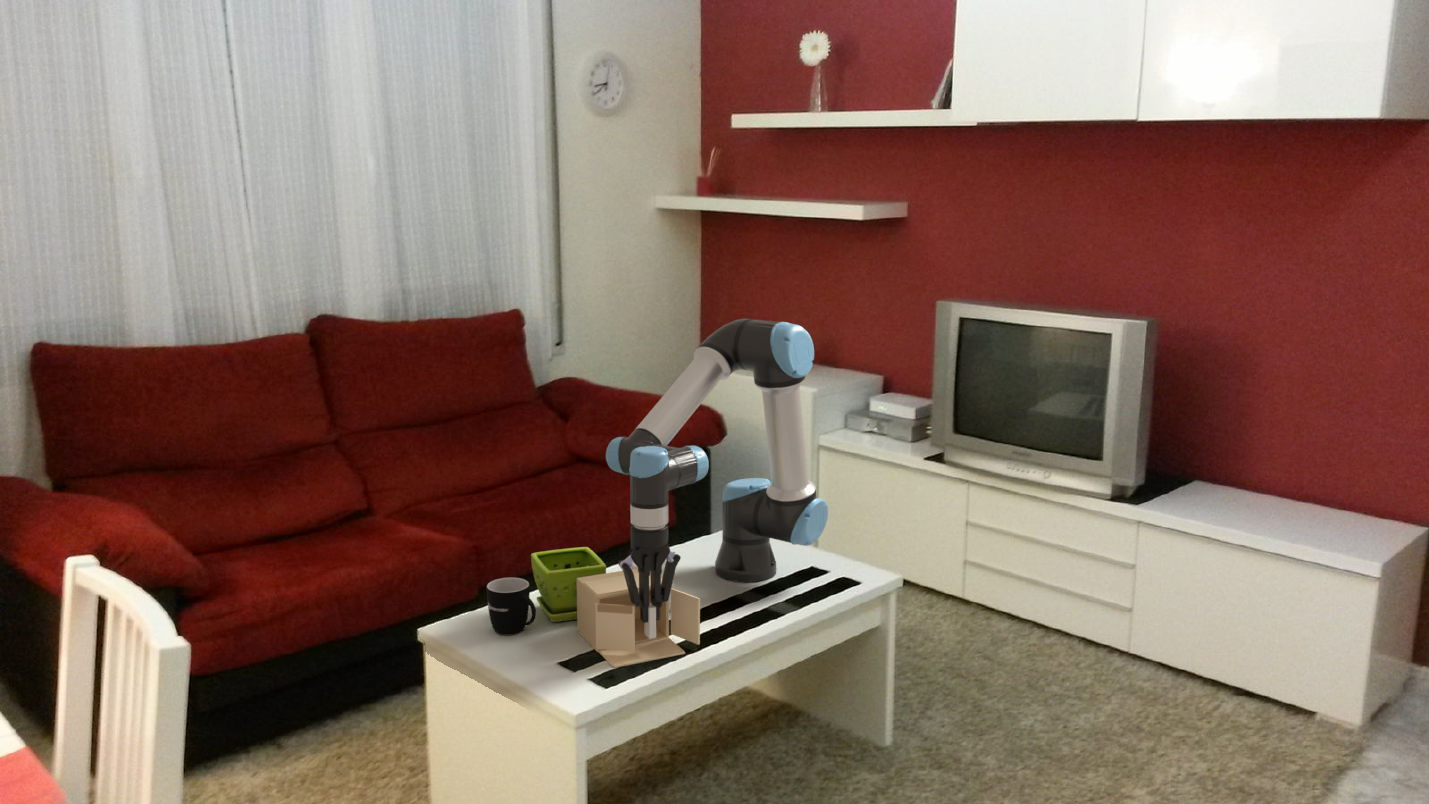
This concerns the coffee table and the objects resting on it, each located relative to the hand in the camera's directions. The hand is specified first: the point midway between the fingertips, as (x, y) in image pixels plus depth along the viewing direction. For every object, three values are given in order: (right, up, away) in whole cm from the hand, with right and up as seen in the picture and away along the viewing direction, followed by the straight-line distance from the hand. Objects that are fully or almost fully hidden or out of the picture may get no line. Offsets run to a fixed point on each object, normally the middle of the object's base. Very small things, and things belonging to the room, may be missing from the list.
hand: (650, 635), depth 229 cm
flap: (-7, -3, 0) cm, 8 cm away
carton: (-3, -3, +7) cm, 8 cm away
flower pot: (-19, 0, +23) cm, 30 cm away
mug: (-30, -2, +12) cm, 32 cm away
